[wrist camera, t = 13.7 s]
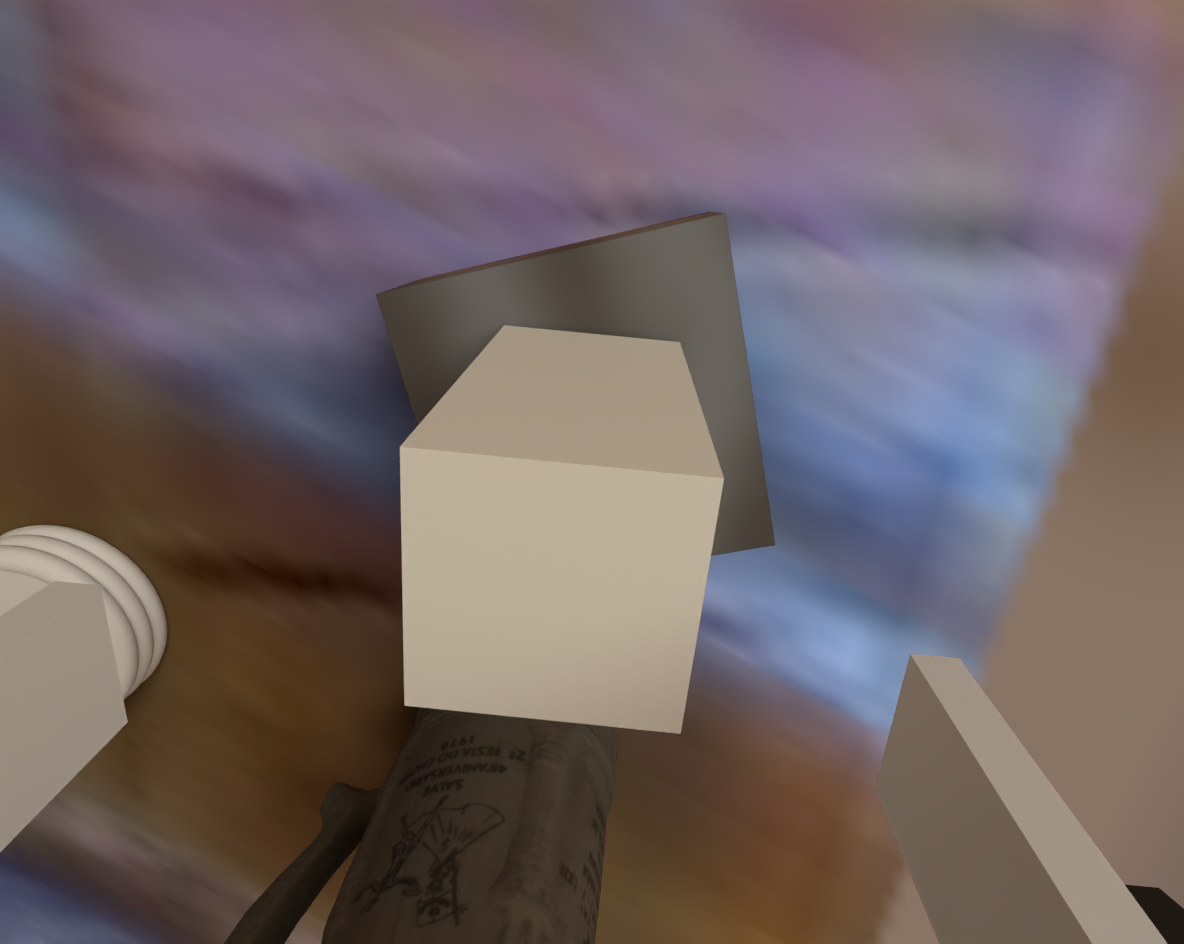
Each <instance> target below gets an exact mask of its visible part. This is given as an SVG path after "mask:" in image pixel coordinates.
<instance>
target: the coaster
mask: <svg viewBox="0 0 1184 944" xmlns="http://www.w3.org/2000/svg"><path fill="white" fill-rule="evenodd" d="M54 581H59V582H70V583H82V584H94V585H100V586H101V591H102V596H103V601H104V606H105V611H106V616H107V621H108V626H109V631H110V636H111V641H112V646H113V651H114V656H115V661H116V666H117V671H118V676H119V681H120V686H121V691H122V696H123V701H124V700H125V698H126V697H127V696H129V695H130V694H132V693H133V692H134V691H135V690H136V688H137V687H138V686H139V685H140V684H141V683H142V682H143V681H145V680H146V679H147V678H148V677H149V676H150V675H151V674H152V673H153V672H154V670H155V669H156V667H157V666H158V664H159V662H160V660H161V658H162V655H163V653H164V651H165V647H166V643H167V631H168V630H167V620H166V615H165V611H164V608H163V605H162V603H161V600H160V598H159V596H158V594H157V592H156V590H155V588H154V587H153V585H152V584H151V582H150V581H149V579H148V578H147V577H146V575H145V574H144V573H143V572H142V571H141V570H140V568H139V567H138V566H137V565H136V564H135V563H134V562H133V561H131V560H130V559H129V558H128V557H127V556H126V555H124V554H123V553H122V552H120V551H119V550H118V549H116V548H115V547H113V546H112V545H110V544H108V543H107V542H105V541H103V540H101V539H99V538H97V537H95V536H93V535H91V534H88V533H86V532H83V531H80V530H76V529H73V528H69V527H63V526H58V525H33V526H27V527H23V528H18V529H14V530H12V531H9V532H7V533H4V534H3V535H1V536H0V616H1V615H3V614H4V613H6V612H8V611H9V610H11V609H12V608H14V607H15V606H17V605H18V604H20V603H21V602H23V601H25V600H26V599H28V598H29V597H31V596H32V595H34V594H35V593H37V592H39V591H40V590H42V589H43V588H45V587H46V586H48V585H49V584H51V583H52V582H54Z"/></svg>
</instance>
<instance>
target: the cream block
mask: <svg viewBox="0 0 1184 944" xmlns="http://www.w3.org/2000/svg"><path fill="white" fill-rule="evenodd" d="M723 482H724V476H723V473H722V470H721V467H720V464H719V461H718V458H717V455H716V452H715V449H714V446H713V443H712V439H711V436H710V433H709V430H708V427H707V424H706V421H705V418H704V415H703V412H702V409H701V406H700V402H699V399H698V396H697V393H696V390H695V387H694V384H693V381H692V378H691V375H690V372H689V369H688V365H687V362H686V359H685V356H684V353H683V350H682V347H681V344H680V342H674V341H663V340H653V339H642V338H632V337H622V336H611V335H601V334H590V333H580V332H569V331H559V330H549V329H538V328H528V327H517V326H507V325H504V326H503V327H502V329H501V330H500V331H499V332H498V333H497V334H496V335H495V337H494V338H493V339H492V340H491V341H490V342H489V344H488V345H487V346H486V347H485V348H484V349H483V351H482V352H481V353H480V354H479V355H478V356H477V358H476V359H475V360H474V361H473V362H472V363H471V365H470V366H469V367H468V368H467V369H466V370H465V372H464V373H463V374H462V375H461V376H460V377H459V378H458V380H457V381H456V382H455V383H454V384H453V385H452V387H451V388H450V389H449V390H448V391H447V392H446V394H445V395H444V396H443V397H442V398H441V399H440V401H439V402H438V403H437V404H436V405H435V406H434V408H433V409H432V410H431V411H430V412H429V413H428V415H427V416H426V417H425V418H424V419H423V420H422V422H421V423H420V424H419V425H418V426H417V427H416V428H415V430H414V431H413V432H412V433H411V434H410V435H409V437H408V438H407V439H406V440H405V441H404V442H403V444H402V445H401V446H400V485H401V542H402V598H403V655H404V706H413V707H423V708H433V709H442V710H452V711H462V712H472V713H482V714H492V715H501V716H511V717H521V718H531V719H541V720H551V721H560V722H570V723H580V724H590V725H600V726H610V727H620V728H629V729H639V730H649V731H659V732H669V733H679V734H681V728H682V722H683V716H684V710H685V705H686V699H687V693H688V687H689V681H690V675H691V669H692V664H693V658H694V652H695V646H696V640H697V634H698V628H699V623H700V617H701V611H702V605H703V599H704V593H705V587H706V582H707V576H708V570H709V564H710V558H711V552H712V546H713V541H714V535H715V529H716V523H717V517H718V511H719V505H720V500H721V494H722V488H723Z"/></svg>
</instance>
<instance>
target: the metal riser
mask: <svg viewBox="0 0 1184 944" xmlns="http://www.w3.org/2000/svg"><path fill="white" fill-rule="evenodd" d="M376 296H377V300H378V303H379V306H380V309H381V312H382V315H383V318H384V322H385V325H386V328H387V331H388V334H389V337H390V340H391V344H392V347H393V350H394V353H395V356H396V359H397V362H398V366H399V369H400V372H401V375H402V378H403V381H404V385H405V388H406V391H407V394H408V397H409V400H410V403H411V407H412V410H413V413H414V416H415V419H416V422H417V425H419V424H420V423H421V422H422V420H423V419H424V418H425V417H426V416H427V415H428V413H429V412H430V411H431V410H432V409H433V408H434V406H435V405H436V404H437V403H438V402H439V401H440V399H441V398H442V397H443V396H444V395H445V394H446V392H447V391H448V390H449V389H450V388H451V387H452V385H453V384H454V383H455V382H456V381H457V380H458V378H459V377H460V376H461V375H462V374H463V373H464V372H465V370H466V369H467V368H468V367H469V366H470V365H471V363H472V362H473V361H474V360H475V359H476V358H477V356H478V355H479V354H480V353H481V352H482V351H483V349H484V348H485V347H486V346H487V345H488V344H489V342H490V341H491V340H492V339H493V338H494V337H495V335H496V334H497V333H498V332H499V331H500V330H501V329H502V327H503V326H504V325H507V326H517V327H528V328H538V329H549V330H559V331H569V332H580V333H590V334H601V335H611V336H622V337H632V338H642V339H653V340H663V341H674V342H680V344H681V347H682V350H683V353H684V356H685V359H686V362H687V365H688V369H689V372H690V375H691V378H692V381H693V384H694V387H695V390H696V393H697V396H698V399H699V402H700V406H701V409H702V412H703V415H704V418H705V421H706V424H707V427H708V430H709V433H710V436H711V439H712V443H713V446H714V449H715V452H716V455H717V458H718V461H719V464H720V467H721V470H722V473H723V476H724V482H723V488H722V494H721V500H720V505H719V511H718V517H717V523H716V529H715V535H714V541H713V546H712V552H711V556H713V555H719V554H725V553H731V552H737V551H743V550H749V549H755V548H761V547H767V546H773V545H775V541H774V534H773V527H772V521H771V514H770V507H769V501H768V494H767V487H766V481H765V474H764V467H763V461H762V454H761V447H760V441H759V434H758V427H757V421H756V414H755V407H754V401H753V394H752V388H751V381H750V374H749V368H748V361H747V354H746V348H745V341H744V334H743V328H742V321H741V314H740V308H739V301H738V294H737V288H736V281H735V274H734V268H733V261H732V254H731V248H730V241H729V234H728V228H727V221H726V214H725V213H716V212H707V213H702V214H698V215H694V216H689V217H685V218H681V219H676V220H672V221H668V222H664V223H659V224H655V225H651V226H646V227H642V228H638V229H633V230H629V231H625V232H621V233H616V234H612V235H608V236H603V237H599V238H595V239H590V240H586V241H582V242H578V243H573V244H569V245H565V246H560V247H556V248H552V249H547V250H543V251H539V252H535V253H530V254H526V255H522V256H517V257H513V258H509V259H504V260H500V261H496V262H492V263H487V264H483V265H479V266H474V267H470V268H466V269H461V270H457V271H453V272H449V273H444V274H440V275H436V276H431V277H427V278H423V279H420V280H417V281H414V282H411V283H408V284H405V285H402V286H399V287H396V288H393V289H390V290H388V291H385V292H382V293H379V294H376Z"/></svg>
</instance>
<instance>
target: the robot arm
mask: <svg viewBox="0 0 1184 944" xmlns="http://www.w3.org/2000/svg"><path fill="white" fill-rule="evenodd" d="M127 722H128V721H127V716H126V711H125V706H124V701H123V696H122V691H121V686H120V681H119V676H118V671H117V666H116V661H115V656H114V651H113V646H112V641H111V636H110V631H109V626H108V621H107V616H106V611H105V606H104V601H103V596H102V591H101V586H100V585H94V584H82V583H70V582H59V581H54V582H52V583H51V584H49V585H48V586H46V587H45V588H43V589H42V590H40V591H39V592H37V593H35V594H34V595H32V596H31V597H29V598H28V599H26V600H25V601H23V602H21V603H20V604H18V605H17V606H15V607H14V608H12V609H11V610H9V611H8V612H6V613H4V614H3V615H1V616H0V852H1V851H2V850H3V849H4V848H5V847H6V846H7V845H8V844H9V843H10V842H11V841H12V840H13V839H14V838H15V837H16V836H17V835H18V834H19V833H20V832H21V831H22V829H23V828H24V827H25V826H26V825H27V824H28V823H29V822H30V821H31V820H32V819H33V818H34V817H35V816H36V815H37V814H38V813H39V812H40V811H41V810H42V809H43V808H44V807H45V806H46V805H47V804H48V803H49V802H50V801H51V800H52V799H53V798H54V797H55V796H56V795H57V794H58V793H59V792H60V791H61V790H62V789H63V788H64V787H65V786H66V785H67V784H68V783H69V782H70V781H71V780H72V778H73V777H74V776H75V775H76V774H77V773H78V772H79V771H80V770H81V769H82V768H83V767H84V766H85V765H86V764H87V763H88V762H89V761H90V760H91V759H92V758H93V757H94V756H95V755H96V754H97V753H98V752H99V751H100V750H101V749H102V748H103V747H104V746H105V745H106V744H107V743H108V742H109V741H110V740H111V739H112V738H113V737H114V736H115V735H116V734H117V733H118V732H119V731H120V730H121V729H122V727H123V726H124V725H125V724H126V723H127ZM875 791H876V793H877V796H878V798H879V801H880V803H881V805H882V808H883V810H884V813H885V815H886V817H887V820H888V822H889V824H890V827H891V829H892V832H893V834H894V836H895V839H896V841H897V843H898V846H899V848H900V851H901V853H902V855H903V858H904V860H905V862H906V865H907V867H908V870H909V872H910V874H911V877H912V879H913V882H914V884H915V886H916V889H917V891H918V893H919V896H920V898H921V901H922V903H923V905H924V908H925V910H926V912H927V915H928V917H929V920H930V922H931V924H932V927H933V929H934V931H935V934H936V936H937V939H938V941H939V943H940V944H1184V909H1183V908H1182V907H1181V906H1180V905H1178V904H1177V903H1176V902H1175V901H1174V900H1173V899H1171V898H1170V897H1169V896H1168V895H1167V894H1165V893H1164V892H1163V891H1162V890H1161V889H1159V888H1154V887H1143V886H1131V885H1124V883H1123V882H1122V881H1121V879H1120V878H1119V876H1118V875H1117V874H1116V872H1115V871H1114V870H1113V869H1112V867H1111V866H1110V864H1109V863H1108V861H1107V860H1106V859H1105V857H1104V856H1103V855H1102V853H1101V852H1100V851H1099V849H1098V848H1097V846H1096V845H1095V844H1094V842H1093V841H1092V840H1091V838H1090V837H1089V835H1088V834H1087V833H1086V831H1085V830H1084V829H1083V827H1082V826H1081V824H1080V823H1079V822H1078V821H1077V819H1076V818H1075V816H1074V815H1073V814H1072V812H1071V811H1070V809H1069V808H1068V807H1067V805H1066V804H1065V803H1064V801H1063V800H1062V799H1061V797H1060V796H1059V794H1058V793H1057V792H1056V790H1055V789H1054V788H1053V786H1052V785H1051V783H1050V782H1049V781H1048V779H1047V778H1046V777H1045V775H1044V774H1043V772H1042V771H1041V770H1040V768H1039V767H1038V766H1037V764H1036V763H1035V762H1034V760H1033V759H1032V757H1031V756H1030V755H1029V753H1028V752H1027V751H1026V749H1025V748H1024V746H1023V745H1022V744H1021V742H1020V741H1019V740H1018V738H1017V737H1016V735H1015V734H1014V733H1013V731H1012V730H1011V729H1010V727H1009V726H1008V725H1007V723H1006V722H1005V720H1004V719H1003V718H1002V716H1001V715H1000V714H999V712H998V711H997V710H996V708H995V707H994V705H993V704H992V703H991V701H990V700H989V699H988V697H987V696H986V695H985V693H984V692H983V690H982V689H981V688H980V686H979V685H978V683H977V682H976V681H975V679H974V678H973V677H972V675H971V674H970V673H969V671H968V670H967V668H966V667H965V666H964V664H963V663H962V662H961V660H960V659H959V658H951V657H940V656H928V655H916V654H910V657H909V661H908V665H907V668H906V672H905V676H904V680H903V684H902V687H901V691H900V695H899V699H898V703H897V706H896V710H895V714H894V718H893V722H892V726H891V729H890V733H889V737H888V741H887V745H886V748H885V752H884V756H883V760H882V764H881V768H880V771H879V775H878V779H877V783H876V787H875Z"/></svg>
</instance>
